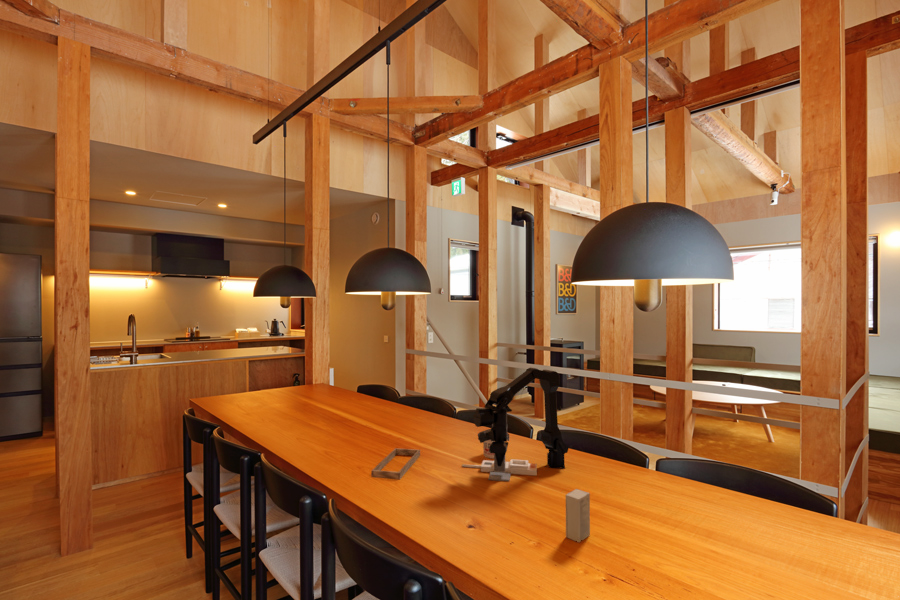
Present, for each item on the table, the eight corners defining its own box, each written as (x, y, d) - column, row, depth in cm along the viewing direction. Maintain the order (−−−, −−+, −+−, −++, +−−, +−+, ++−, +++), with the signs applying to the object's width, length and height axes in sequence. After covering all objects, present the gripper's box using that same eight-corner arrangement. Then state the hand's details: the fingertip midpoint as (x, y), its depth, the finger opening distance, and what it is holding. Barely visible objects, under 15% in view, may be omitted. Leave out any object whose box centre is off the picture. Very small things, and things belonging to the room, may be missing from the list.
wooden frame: (420, 455, 196) (420, 449, 196) (400, 479, 168) (400, 472, 168) (395, 453, 198) (395, 448, 198) (371, 477, 170) (371, 470, 170)
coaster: (510, 473, 174) (510, 472, 174) (509, 481, 166) (509, 479, 166) (490, 472, 175) (490, 470, 175) (488, 479, 168) (488, 478, 168)
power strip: (536, 468, 179) (536, 457, 179) (536, 475, 172) (536, 464, 172) (463, 463, 186) (463, 453, 186) (460, 469, 178) (460, 459, 178)
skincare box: (577, 530, 129) (576, 488, 129) (590, 535, 126) (590, 492, 126) (565, 537, 125) (564, 494, 125) (578, 543, 121) (578, 499, 122)
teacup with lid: (478, 455, 196) (478, 429, 196) (491, 451, 202) (491, 425, 203) (500, 462, 187) (500, 434, 188) (512, 456, 194) (512, 430, 194)
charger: (505, 467, 172) (505, 451, 172) (504, 471, 168) (504, 455, 169) (495, 467, 173) (495, 451, 173) (494, 470, 169) (494, 454, 169)
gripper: (482, 417, 182) (482, 455, 182) (475, 428, 164) (475, 471, 163) (509, 418, 180) (509, 456, 179) (505, 430, 161) (506, 473, 161)
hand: (499, 464), depth 171 cm, fingers closed on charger, 4 cm apart
